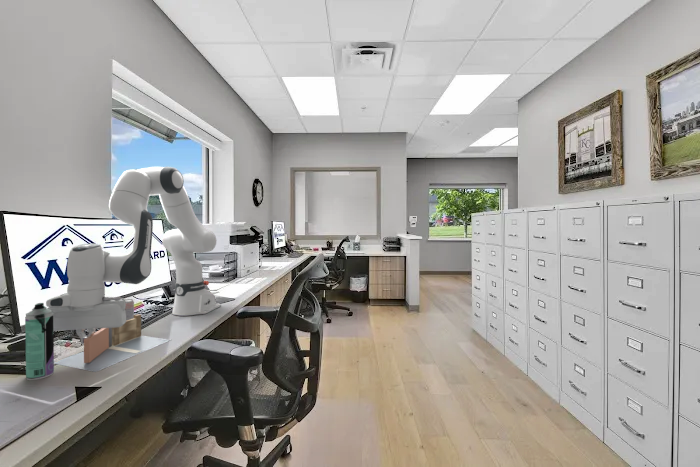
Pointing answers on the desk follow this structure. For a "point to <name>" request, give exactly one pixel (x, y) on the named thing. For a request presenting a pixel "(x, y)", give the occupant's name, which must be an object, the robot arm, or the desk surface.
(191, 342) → the desk surface
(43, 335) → the spray can
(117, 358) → the card
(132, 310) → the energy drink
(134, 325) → the fixed fence section
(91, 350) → the hinged fence panel
